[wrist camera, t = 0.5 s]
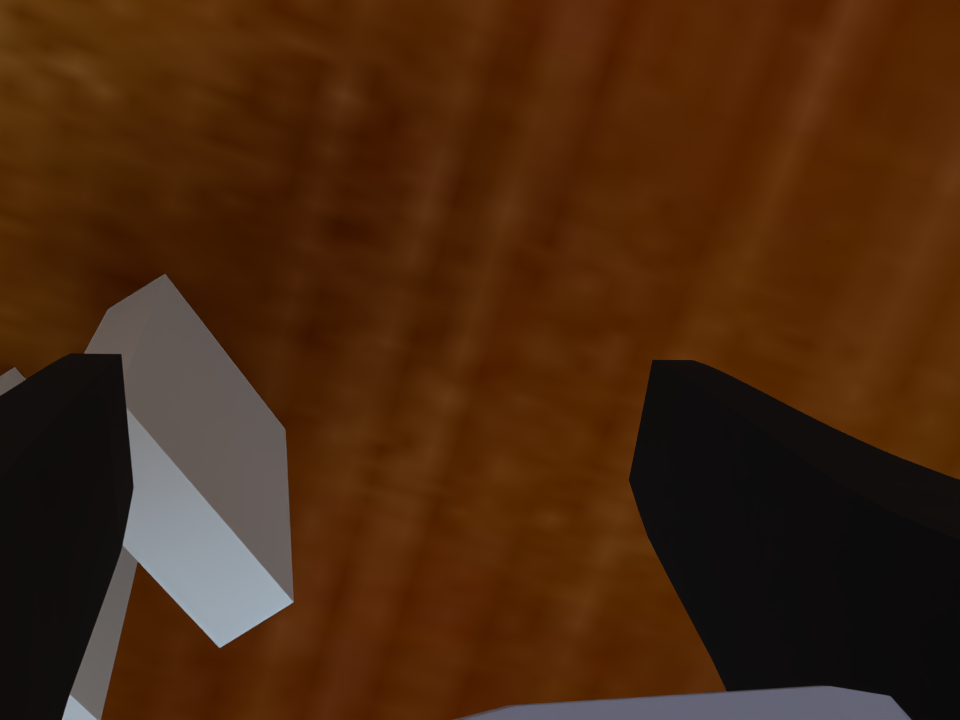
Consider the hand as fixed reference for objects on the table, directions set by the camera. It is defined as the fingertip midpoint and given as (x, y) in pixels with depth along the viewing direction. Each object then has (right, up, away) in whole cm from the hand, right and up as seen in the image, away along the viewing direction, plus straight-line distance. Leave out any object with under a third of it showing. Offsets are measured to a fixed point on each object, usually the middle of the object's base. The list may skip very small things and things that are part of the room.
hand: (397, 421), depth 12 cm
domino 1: (-6, +1, +10) cm, 12 cm away
